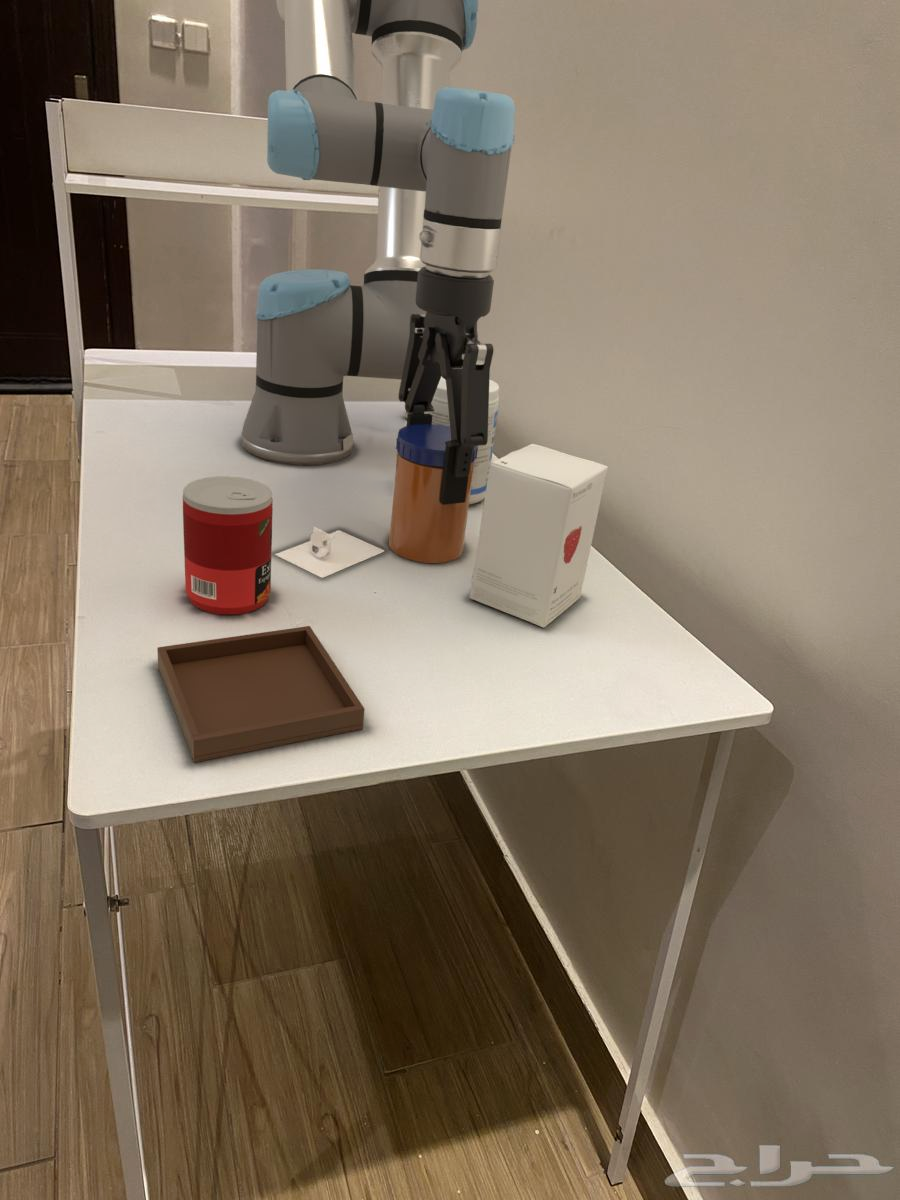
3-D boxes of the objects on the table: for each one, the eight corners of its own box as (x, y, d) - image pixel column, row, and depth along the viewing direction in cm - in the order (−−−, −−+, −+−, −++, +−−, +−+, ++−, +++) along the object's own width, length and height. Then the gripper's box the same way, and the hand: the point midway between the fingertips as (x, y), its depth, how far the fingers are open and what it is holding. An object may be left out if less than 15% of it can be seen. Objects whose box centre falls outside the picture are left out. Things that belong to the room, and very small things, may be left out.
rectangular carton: (544, 630, 89) (572, 488, 82) (467, 599, 93) (486, 461, 86) (583, 598, 96) (611, 464, 89) (509, 571, 100) (530, 440, 93)
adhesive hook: (304, 553, 98) (305, 526, 97) (321, 546, 100) (322, 520, 98) (324, 563, 96) (325, 536, 95) (341, 556, 98) (343, 529, 97)
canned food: (275, 614, 86) (277, 507, 81) (187, 618, 83) (184, 508, 78) (265, 577, 92) (267, 475, 87) (183, 579, 90) (180, 475, 85)
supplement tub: (500, 503, 117) (517, 391, 110) (439, 512, 112) (452, 395, 105) (459, 476, 124) (472, 369, 117) (399, 484, 119) (409, 372, 112)
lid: (383, 441, 99) (384, 425, 98) (453, 437, 103) (455, 422, 102) (417, 470, 92) (419, 453, 92) (491, 464, 96) (493, 448, 96)
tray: (157, 667, 76) (157, 647, 75) (308, 644, 82) (309, 625, 81) (193, 762, 66) (193, 740, 65) (363, 729, 72) (364, 708, 71)
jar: (377, 534, 104) (386, 430, 98) (442, 528, 108) (454, 427, 102) (407, 567, 98) (418, 457, 92) (475, 559, 102) (490, 452, 96)
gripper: (378, 249, 95) (363, 454, 106) (476, 291, 79) (447, 528, 90) (441, 252, 99) (420, 450, 109) (547, 293, 82) (511, 521, 93)
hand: (432, 485), depth 99 cm, fingers closed on lid, 9 cm apart
